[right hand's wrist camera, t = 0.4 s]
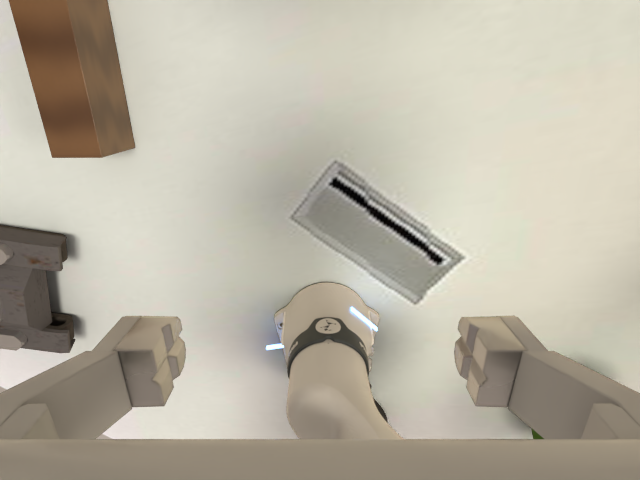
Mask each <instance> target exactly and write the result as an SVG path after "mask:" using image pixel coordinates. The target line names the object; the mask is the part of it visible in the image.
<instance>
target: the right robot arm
mask: <svg viewBox="0 0 640 480" xmlns="http://www.w3.org/2000/svg"><path fill="white" fill-rule="evenodd" d="M274 322H275V326H276V329H277V332H278V336H279V339H280V343H281V344H275V345H268V346H266V350H270V349H277V348H282V349H283V353H284V356H285V360H286V363H287V369H288V377H289V387H288V397H287V406H286V412H287V418H288V421H289V424H290V426H291V427H292V429H293V431H294V432H295V434H296V435H297V436H298V438H299V439H96V438H97V437H99V436H100V435H101V434H102V433H103V432H105V431H106V430H107V429H108V428H109V427H111V426H112V425H113V424H114V423H115V422H117V421H118V420H119V419H120V418H122V417H123V416H124V415H125V414H126V413H128V412H129V411H130V410H131V409H132V407H152V406H165V404H166V402H167V400H168V398H169V396H170V394H171V392H172V390H173V388H174V386H173V380H174V379H175V378H177V377H178V376H179V375H180V374H181V372H182V369H183V367H184V362H185V358H186V349H185V342H184V341H183V340H182V339H181V338H180V337H179V334H180V332H181V331H182V326H181V321H180V319H179V318H178V317H171V316H125V317H122V318H121V319H120V320H119V321H118V322H117V323H116V325H115V326H114V327H113V328H112V329H111V330H110V331H109V332H108V334H107V335H106V336H105V337H104V338H103V339H102V340H101V341H100V342H99V344H98V345H97V346H96V347H95V348H94V349H93V350H92V351H85V352H83V353H81V354H79V355H77V356H75V357H73V358H71V359H69V360H67V361H65V362H63V363H61V364H59V365H57V366H55V367H53V368H51V369H49V370H47V371H45V372H43V373H41V374H38V375H36V376H34V377H32V378H30V379H28V380H26V381H24V382H22V383H20V384H18V385H16V386H14V387H12V388H10V389H8V390H6V391H4V392H2V393H0V480H640V393H638V392H636V391H634V390H632V389H630V388H628V387H626V386H624V385H622V384H620V383H618V382H616V381H614V380H612V379H609V378H607V377H605V376H603V375H601V374H599V373H597V372H595V371H593V370H591V369H589V368H587V367H585V366H583V365H581V364H579V363H577V362H575V361H573V360H571V359H569V358H567V357H565V356H563V355H561V354H559V353H557V352H555V351H548V350H547V349H546V348H545V347H544V346H543V345H542V344H541V342H540V341H539V340H538V339H537V338H536V337H535V336H534V335H533V334H532V332H531V331H530V330H529V329H528V328H527V327H526V326H525V325H524V323H523V322H522V321H521V320H520V319H519V318H518V317H516V316H496V317H461V319H460V321H459V325H458V331H459V332H460V334H461V337H460V338H459V339H458V340H457V341H456V342H455V350H454V355H455V363H456V367H457V369H458V372H459V374H460V375H461V376H462V377H463V378H465V379H466V380H467V386H466V388H467V390H468V392H469V394H470V396H471V398H472V400H473V402H474V404H475V405H476V406H487V407H508V409H509V410H510V411H511V412H513V413H514V414H515V415H516V416H517V417H519V418H520V419H521V420H522V421H523V422H525V423H526V424H527V425H528V426H529V427H531V428H532V429H533V430H534V431H535V432H537V433H538V434H539V435H540V436H542V437H543V438H544V439H403V438H402V437H401V436H400V435H399V434H398V433H396V432H395V431H394V430H393V429H392V427H391V426H390V425H389V424H388V422H387V417H386V415H385V413H384V411H383V409H382V408H381V407H380V405H379V404H378V403H377V402H376V401H375V400H374V399H373V396H372V393H371V384H370V383H369V380H368V375H369V372H370V371H371V367H372V360H371V359H370V358H368V356H373V352H374V349H373V348H372V347H371V346H372V345H373V344H374V337H375V333H376V331H377V327H378V323H379V314H378V313H377V312H376V311H375V310H373V309H371V308H370V307H368V306H366V305H365V303H364V302H363V301H362V299H361V298H360V297H359V296H358V294H356V293H355V292H354V291H353V290H351V289H350V288H348V287H346V286H343V285H340V284H336V283H317V284H313V285H311V286H308V287H306V288H304V289H303V290H301V291H300V292H298V293H297V294H296V295H295V296H294V297H293V299H292V300H291V302H290V303H289V304H288V305H287V306H286V307H284V308H283V309H281V310H279V311H278V312H277V313H276V314H275V315H274ZM280 323H283V325H282V324H280Z"/></svg>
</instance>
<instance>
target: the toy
mask: <svg viewBox="0 0 640 480" xmlns="http://www.w3.org/2000/svg"><path fill="white" fill-rule="evenodd" d="M65 260H67V247H66V237H65V235H63V234H57V233H51V232H44V231H37V230H31V229H24V228H17V227H10V226H4V225H0V348H1V349H9V350H18V349H19V348H25V349H33V350H40V351H48V352H56V353H70V351H71V348H72V346H73V344H74V342H75V339H73V338H74V328H73V318H72V316H70V315H65V314H58V313H51V308H50V300H49V292H48V284H47V276H46V270H48V271H61V270H62V269H63V265H62V262H64V261H65Z"/></svg>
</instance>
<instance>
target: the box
mask: <svg viewBox="0 0 640 480" xmlns="http://www.w3.org/2000/svg"><path fill="white" fill-rule="evenodd" d="M9 3H10V6H11V10H12V14H13V17H14V21H15V25H16V28H17V32H18V35H19V39H20V43H21V46H22V50H23V53H24V57H25V61H26V64H27V68H28V71H29V75H30V79H31V82H32V86H33V90H34V93H35V97H36V100H37V104H38V108H39V111H40V115H41V118H42V122H43V126H44V129H45V133H46V136H47V140H48V144H49V147H50V151H51V155H52V158H102V157H105V156H109V155H112V154H115V153H119V152H122V151H126V150H129V149H132V148H135V144H134V139H133V133H132V128H131V123H130V118H129V112H128V107H127V102H126V97H125V91H124V86H123V81H122V76H121V70H120V65H119V60H118V54H117V49H116V44H115V39H114V33H113V28H112V23H111V18H110V12H109V7H108V2H107V0H9Z"/></svg>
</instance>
